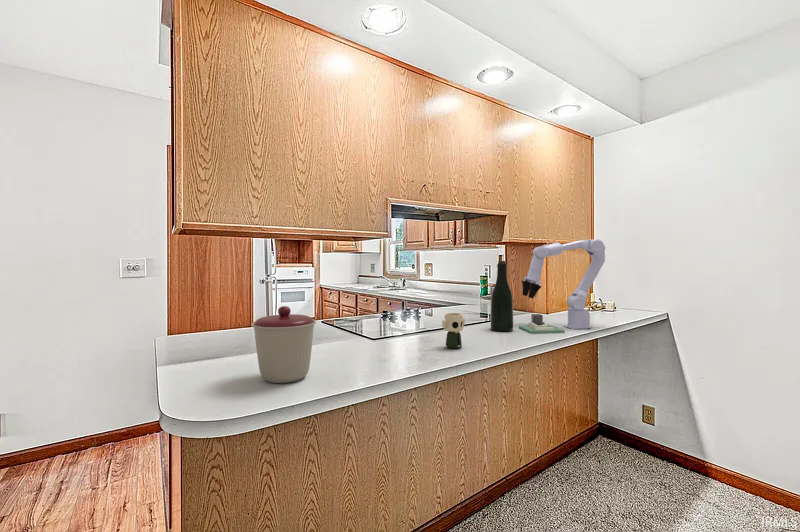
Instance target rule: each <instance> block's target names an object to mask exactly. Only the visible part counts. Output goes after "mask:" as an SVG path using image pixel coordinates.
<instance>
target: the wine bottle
mask: <svg viewBox="0 0 800 532" xmlns="http://www.w3.org/2000/svg"><path fill="white" fill-rule="evenodd" d="M497 262H498V263H497V265H496V266H497V270H496V271H497V272H496V281H495V284H494V287H493V290H492V292H491V297H490V298H491V299H490V323H489V324H490V326H489V327H490V330H491V331H494V332H497V333H498V332H500V333H502V332H503V333H504V332H505V333H507V332H512V331H513V330H514V300H513V293H512V290H511V287H510V285H509V281H508V276H507V275H508V273H507V271H508V270H507V269H508V268H507V267H508V264H507V263H506V261H505V260H498V261H497Z"/></svg>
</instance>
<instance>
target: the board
mask: <svg viewBox="0 0 800 532" xmlns="http://www.w3.org/2000/svg"><path fill="white" fill-rule="evenodd" d="M518 329H520V330H522V331H524V332H527V333H528V334H531V335H534V334H565V331H566V330H564V329H563V328H559V327H556V326H554V325H551V324H543V325H536V324H533V323H531V321H530V322H528V325H518Z"/></svg>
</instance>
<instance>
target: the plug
mask: <svg viewBox="0 0 800 532" xmlns="http://www.w3.org/2000/svg"><path fill="white" fill-rule="evenodd" d="M530 316H531V319H530V320H531V321H530V322H531V323H533V324H536V325H546V324H545V323H546V322H544V321H543V319H544V318H543V317H544V316H543V314H541V313H531V315H530Z"/></svg>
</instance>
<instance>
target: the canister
mask: <svg viewBox="0 0 800 532" xmlns="http://www.w3.org/2000/svg"><path fill="white" fill-rule="evenodd" d="M291 311H292V310H291V308H290V307H289V306H286V305H284V306H280V307H279V308H278V309H277V314H272V315H267V316H262V317H260V318H257V319H256V320H255V321H253V322H252V323H251V327H253V329H254V330H253V332H254V339H255V346H256V354H257V361H258V369H259V373H260V375H261V378H262V379H263V380H264V381H265V382H268V383H272V384H286V383H293V382H297V381H300V380H302V379H304V378H305V377H306V376H307V375H308V373H309V370H310V365H311V357H312V347H313V339H314V329H315V328H314V327H315V325H316V323H317V320H316V319H313V318H312V317H311V316H308V315H305V314H294V313H293V314H292V313H291Z"/></svg>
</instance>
